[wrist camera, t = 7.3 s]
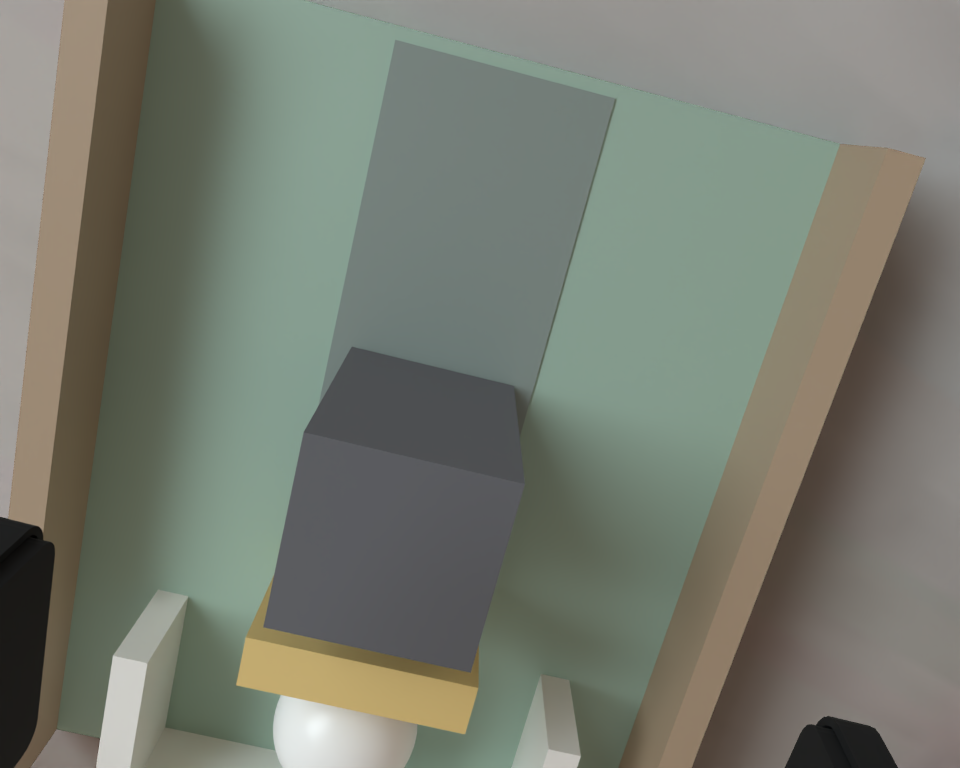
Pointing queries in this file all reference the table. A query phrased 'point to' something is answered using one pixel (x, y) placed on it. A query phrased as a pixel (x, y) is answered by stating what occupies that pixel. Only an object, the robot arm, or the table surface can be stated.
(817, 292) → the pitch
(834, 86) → the table surface
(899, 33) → the table surface
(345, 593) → the grey cube yellow base
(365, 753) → the ball
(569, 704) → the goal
